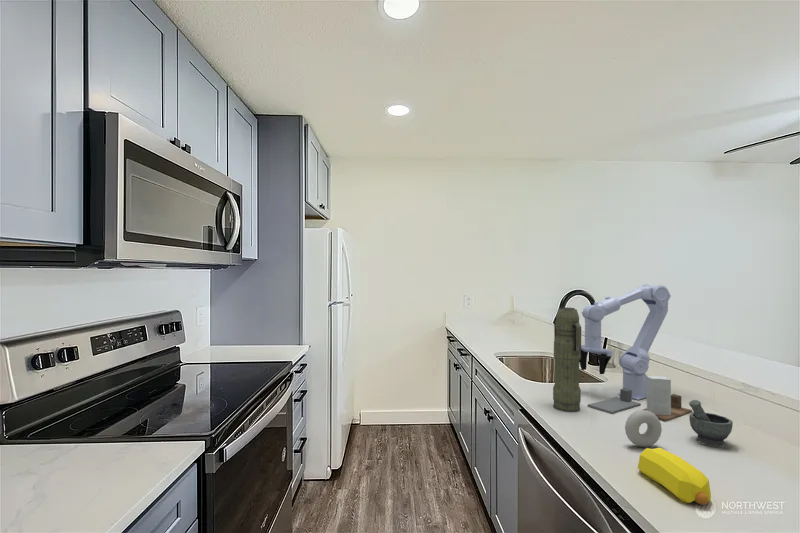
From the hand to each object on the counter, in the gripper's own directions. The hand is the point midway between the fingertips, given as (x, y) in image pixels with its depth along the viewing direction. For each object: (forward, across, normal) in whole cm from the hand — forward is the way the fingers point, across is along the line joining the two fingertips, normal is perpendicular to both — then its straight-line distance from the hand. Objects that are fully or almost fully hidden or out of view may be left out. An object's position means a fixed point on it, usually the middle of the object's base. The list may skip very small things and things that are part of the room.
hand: (592, 371), depth 160 cm
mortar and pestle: (+10, +43, -12) cm, 46 cm away
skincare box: (+9, +24, -1) cm, 26 cm away
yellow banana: (+10, +50, -47) cm, 69 cm away
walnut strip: (+9, +24, +4) cm, 26 cm away
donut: (+10, +35, -31) cm, 48 cm away
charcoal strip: (+9, +11, -4) cm, 15 cm away
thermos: (+10, +3, -21) cm, 23 cm away
